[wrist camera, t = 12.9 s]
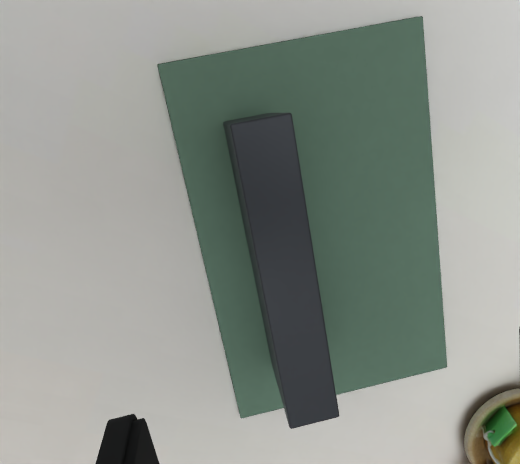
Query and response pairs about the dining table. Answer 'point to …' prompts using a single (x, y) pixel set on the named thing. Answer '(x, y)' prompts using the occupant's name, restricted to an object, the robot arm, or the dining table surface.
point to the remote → (283, 262)
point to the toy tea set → (495, 431)
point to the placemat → (324, 197)
